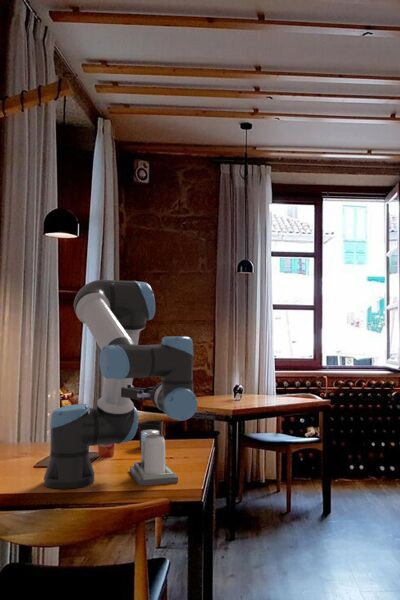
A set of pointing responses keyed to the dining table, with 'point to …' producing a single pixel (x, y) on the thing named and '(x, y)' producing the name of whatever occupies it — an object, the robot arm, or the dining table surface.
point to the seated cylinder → (143, 437)
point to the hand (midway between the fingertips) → (151, 388)
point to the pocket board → (152, 476)
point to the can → (154, 455)
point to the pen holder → (150, 427)
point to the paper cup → (106, 450)
